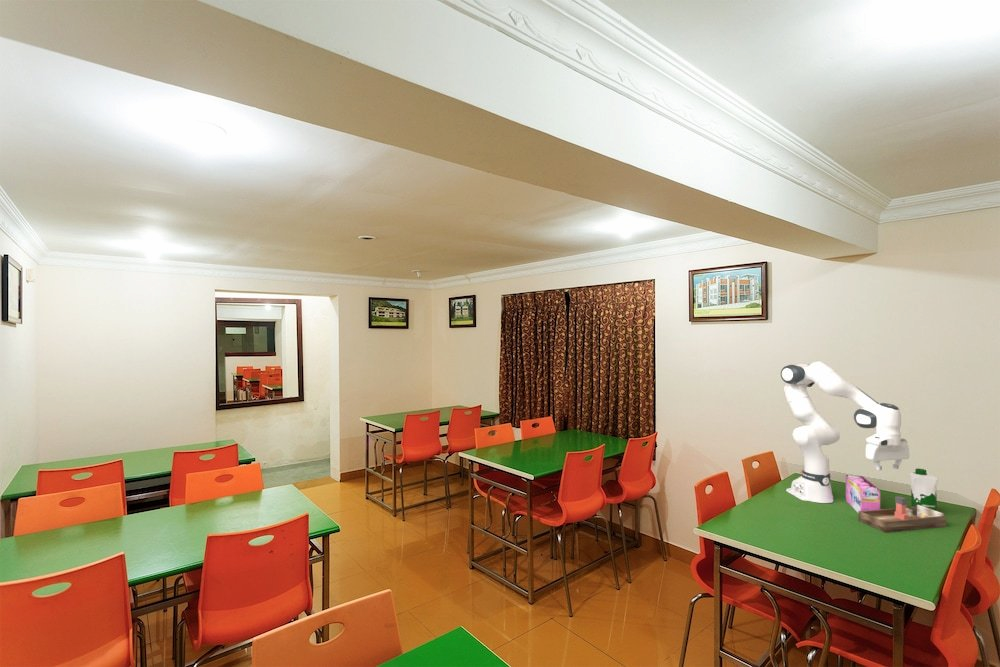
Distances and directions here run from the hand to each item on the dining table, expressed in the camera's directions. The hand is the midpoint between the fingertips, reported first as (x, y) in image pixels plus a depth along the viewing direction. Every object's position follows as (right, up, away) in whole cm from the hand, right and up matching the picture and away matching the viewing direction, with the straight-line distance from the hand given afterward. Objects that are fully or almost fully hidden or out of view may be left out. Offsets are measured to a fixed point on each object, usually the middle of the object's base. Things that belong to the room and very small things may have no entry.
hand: (887, 469), depth 218 cm
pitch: (+6, -25, -1) cm, 25 cm away
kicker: (+5, -22, -1) cm, 23 cm away
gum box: (+2, -25, +17) cm, 30 cm away
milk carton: (+28, -25, +12) cm, 39 cm away
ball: (+18, -23, +1) cm, 29 cm away
